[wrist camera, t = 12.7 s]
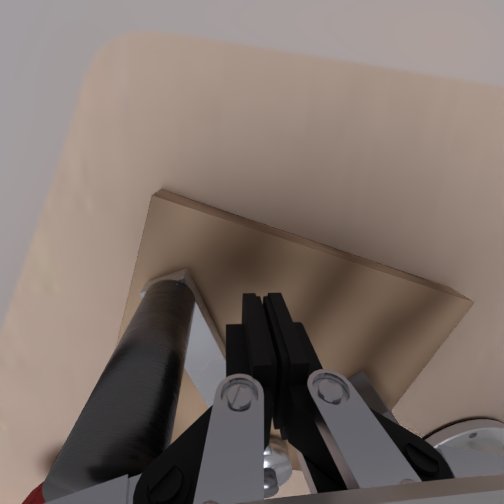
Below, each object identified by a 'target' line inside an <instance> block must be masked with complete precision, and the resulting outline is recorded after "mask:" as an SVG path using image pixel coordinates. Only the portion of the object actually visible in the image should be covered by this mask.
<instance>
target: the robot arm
mask: <svg viewBox="0 0 504 504" xmlns="http://www.w3.org/2000/svg"><path fill="white" fill-rule="evenodd" d="M272 420H273V425H274V429H275V430H278V429H280V434H281V439H282V440H288V443H290V444H291V445H292V446H293V447H295V448H296V453H297V457H298V461H299V463H300V466H301V469H302V471H303V474H304V476H305V479H306V482H307V484H308V487H309V490H310V492H311V494H308V495H300V496H291V497H282V498H274V499H265V500H264V451H265V449H266V448H267V446H268V445H269V441H270V432H271V423H272ZM44 504H504V424H503V423H501V422H499V421H495V420H489V419H476V420H468V421H464V422H461V423H457V424H454V425H451V426H449V427H446V428H444V429H442V430H440V431H438V432H436V433H434V434H433V435H431V436H430V437H428V438H427V439H425V440H423V439H422V438H420V437H418V436H417V435H415V434H413V433H412V432H410V431H408V430H407V429H405V428H403V427H401V426H400V425H398V424H396V423H395V422H393V421H391V420H390V419H388V418H386V417H385V416H383V415H381V414H379V413H378V412H376V411H374V410H373V409H371V408H369V407H368V406H367V405H366V403H365V402H364V401H363V399H362V398H361V396H360V395H359V394H358V392H357V391H356V390H355V388H354V387H353V385H352V384H351V383H350V382H349V381H348V380H347V378H345V377H344V376H343V375H341V374H340V373H337V372H335V371H333V370H328V369H323V367H322V365H321V363H320V361H319V359H318V356H317V354H316V352H315V350H314V348H313V346H312V343H311V341H310V339H309V337H308V335H307V332H306V330H305V328H304V326H303V324H302V323H301V322H293V321H292V318H291V316H290V313H289V311H288V308H287V306H286V303H285V301H284V298H283V296H282V294H281V293H268V295H267V296H264V297H263V304H262V301H261V297H260V296H256V293H243V296H242V323H241V324H226V378H225V379H223V380H222V381H221V382H220V384H219V385H218V387H217V389H216V392H215V397H214V402H213V405H212V406H211V407H210V408H208V409H207V410H206V411H205V412H204V413H203V414H202V415H201V416H200V417H199V418H198V419H197V420H196V421H195V422H194V423H193V424H192V425H191V426H190V427H189V428H187V429H186V430H185V431H184V432H183V433H182V434H181V435H180V436H179V437H178V438H177V439H176V440H175V441H174V442H173V443H172V444H171V445H170V446H169V447H168V448H167V449H165V450H164V451H163V452H162V453H161V454H160V455H159V456H158V457H157V458H156V459H155V460H154V461H153V462H152V463H151V464H150V465H149V466H148V467H147V468H146V470H145V471H144V472H143V473H142V474H139V475H137V476H134V477H131V478H129V477H128V474H127V475H124V476H121V477H118V478H116V479H113V480H110V481H107V482H104V483H101V484H98V485H95V486H93V487H90V488H87V489H84V490H81V491H78V492H75V493H72V494H69V495H67V496H64V497H61V498H58V499H55V500H52V501H49V502H46V503H44Z"/></svg>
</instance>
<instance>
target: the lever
mask: <svg viewBox="0 0 504 504" xmlns="http://www.w3.org/2000/svg"><path fill="white" fill-rule="evenodd" d="M140 295H141V296H142V300H141V302H140V304H139V306H138V308H137V310H136V312H135V313H134V315H133V317H132V319H131V321H130V323H129V325H128V326H127V328H126V330H125V332H124V334H123V336H122V338H121V339H120V341H119V343H118V345H117V347H116V349H115V351H114V352H113V354H112V356H111V358H110V360H109V362H108V364H107V366H106V367H105V369H104V371H103V373H102V375H101V377H100V379H99V380H98V382H97V384H96V386H95V388H94V390H93V392H92V393H91V395H90V397H89V399H88V401H87V403H86V405H85V407H84V408H83V410H82V412H81V414H80V416H79V418H78V420H77V421H76V423H75V425H74V427H73V429H72V431H71V433H70V434H69V436H68V438H67V440H66V442H65V444H64V446H63V447H62V449H61V451H60V453H59V455H58V457H57V459H56V461H55V462H54V464H53V466H52V468H51V470H50V472H49V474H48V475H47V477H46V479H45V481H44V483H43V486H42V494H43V498H44V500H45V501H46V502H49V501H52V500H55V499H58V498H61V497H64V496H67V495H69V494H72V493H75V492H78V491H81V490H84V489H87V488H90V487H93V486H95V485H98V484H101V483H104V482H107V481H110V480H113V479H116V478H118V477H121V476H124V475H127V474H128V477H129V478H131V477H134V476H137V475H139V474H142V473H143V472H144V471H145V470H146V468H147V467H148V466H149V465H150V464H151V463H152V462H153V461H154V460H155V459H156V458H157V457H158V456H159V455H160V454H161V453H162V452H163V451H164V450H165V449H167V448H168V447H169V446H170V445H171V439H172V433H173V428H174V422H175V416H176V411H177V405H178V399H179V394H180V388H181V382H182V377H183V371H184V368H185V370H186V371H187V373H188V375H189V376H190V378H191V380H192V381H193V383H194V385H195V386H196V388H197V390H198V391H199V393H200V395H201V396H202V398H203V400H204V401H205V403H206V405H207V406H208V408H210V407H211V406H212V405H213V402H214V397H215V392H216V389H217V387H218V385H219V384H220V382H221V381H222V380H223V379H225V378H226V347H225V345H224V343H223V341H222V339H221V337H220V335H219V333H218V331H217V329H216V327H215V325H214V323H213V321H212V319H211V317H210V315H209V312H208V310H207V308H206V306H205V304H204V302H203V300H202V298H201V296H200V294H199V292H198V290H197V288H196V286H195V284H194V282H193V280H192V278H191V276H190V273H189V271H188V269H187V268H185V269H182V270H180V271H177V272H174V273H171V274H168V275H165V276H162V277H159V278H156V279H154V280H151V281H148V282H146V283H145V285H144V287H143V289H142V290H141V292H140ZM291 474H292V466H291V461H290V457H289V452H288V448H287V446H286V444H285V443H284V442H282V441H281V440H278V439H275V438H270V441H269V445H268V446H267V448H266V449H265V451H264V498H268V497H271V496H274V495H275V494H276V493H277V492H278V490H279V488H278V487H279V486H281V485H282V484H284V483H285V482H286V481H287V480H288V479H289V478H290V476H291Z"/></svg>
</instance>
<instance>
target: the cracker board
mask: <svg viewBox="0 0 504 504" xmlns="http://www.w3.org/2000/svg"><path fill="white" fill-rule="evenodd" d="M185 268H187V269H188V271H189V273H190V276H191V278H192V280H193V282H194V284H195V286H196V288H197V290H198V292H199V294H200V296H201V298H202V300H203V302H204V304H205V306H206V308H207V310H208V312H209V315H210V317H211V319H212V321H213V323H214V325H215V327H216V329H217V331H218V333H219V335H220V337H221V339H222V341H223V343H224V345H225V347H226V324H241V323H242V296H243V293H256V296H260V297H261V301H262V304H263V297H264V296H267V295H268V293H281V294H282V296H283V298H284V301H285V303H286V306H287V308H288V311H289V313H290V316H291V318H292V321H293V322H301V323H302V324H303V326H304V328H305V330H306V332H307V335H308V337H309V339H310V341H311V343H312V346H313V348H314V350H315V352H316V354H317V356H318V359H319V361H320V363H321V365H322V367H323V369H328V370H333V371H335V372H337V373H340V374H341V375H343V376H344V377H345V378H347V380H348V381H349V382H350V383H351V384H352V385H353V387H354V388H355V390H356V391H357V392H358V394H359V395H360V396H361V398H362V399H363V401H364V402H365V403H366V405H367V406H368V407H369V408H371V409H373V410H374V411H376V412H378V413H379V414H381V415H383V416H385V417H386V418H388V419H390V420H391V421H393V422H395V423H396V424H398V425H399V423H398V422H397V420H396V419H395V417H394V416H393V414H392V413H391V410H392V408H393V407H394V406H395V405H396V403H397V402H398V401H399V399H400V398H401V397H402V395H403V394H404V393H405V392H406V390H407V389H408V388H409V386H410V385H411V384H412V382H413V381H414V380H415V379H416V377H417V376H418V375H419V373H420V372H421V371H422V370H423V368H424V367H425V366H426V364H427V363H428V362H429V360H430V359H431V358H432V357H433V355H434V354H435V353H436V351H437V350H438V349H439V347H440V346H441V345H442V344H443V342H444V341H445V340H446V338H447V337H448V336H449V334H450V333H451V332H452V331H453V329H454V328H455V327H456V325H457V324H458V323H459V322H460V320H461V319H462V318H463V316H464V315H465V314H466V312H467V311H468V310H469V309H470V307H471V306H472V305H473V303H474V302H473V301H471V300H470V299H468V298H466V297H465V296H463V295H461V294H460V293H458V292H456V291H455V290H453V289H451V288H449V287H446V286H444V285H441V284H438V283H435V282H432V281H429V280H426V279H423V278H420V277H417V276H414V275H411V274H408V273H405V272H402V271H399V270H396V269H393V268H391V267H388V266H385V265H382V264H379V263H376V262H373V261H370V260H367V259H364V258H361V257H358V256H355V255H352V254H349V253H346V252H343V251H340V250H338V249H335V248H332V247H329V246H326V245H323V244H320V243H317V242H314V241H311V240H308V239H305V238H302V237H299V236H296V235H293V234H290V233H287V232H285V231H282V230H279V229H276V228H273V227H270V226H267V225H264V224H261V223H258V222H255V221H252V220H249V219H246V218H243V217H240V216H237V215H234V214H232V213H229V212H226V211H223V210H220V209H217V208H214V207H211V206H208V205H205V204H202V203H199V202H196V201H193V200H190V199H187V198H184V197H181V196H178V195H176V194H173V193H170V192H167V191H164V190H159V191H158V192H156V193H155V194H153V195H152V197H151V201H150V205H149V210H148V214H147V218H146V222H145V227H144V231H143V235H142V239H141V244H140V248H139V252H138V256H137V261H136V265H135V269H134V274H133V278H132V282H131V286H130V291H129V295H128V299H127V303H126V308H125V312H124V316H123V320H122V325H121V329H120V333H119V338H118V342H117V345H118V343H119V341H120V339H121V338H122V336H123V334H124V332H125V330H126V328H127V326H128V325H129V323H130V321H131V319H132V317H133V315H134V313H135V312H136V310H137V308H138V306H139V304H140V302H141V300H142V296H141V295H140V292H141V290H142V289H143V287H144V285H145V283H146V282H148V281H151V280H154V279H156V278H159V277H162V276H165V275H168V274H171V273H174V272H177V271H180V270H182V269H185ZM116 347H117V346H116ZM207 409H208V406H207V405H206V403H205V401H204V400H203V398H202V396H201V395H200V393H199V391H198V390H197V388H196V386H195V385H194V383H193V381H192V380H191V378H190V376H189V375H188V373H187V371H186V370H185V368H184V371H183V377H182V382H181V388H180V394H179V399H178V405H177V411H176V416H175V422H174V428H173V433H172V439H171V444H172V443H173V442H174V441H175V440H176V439H177V438H178V437H179V436H180V435H181V434H182V433H183V432H184V431H185V430H186V429H187V428H189V427H190V426H191V425H192V424H193V423H194V422H195V421H196V420H197V419H198V418H199V417H200V416H201V415H202V414H203V413H204V412H205V411H206V410H207ZM270 438H275V439H278V440H281V441H282V442H284V443H285V444H286V446H287V448H288V452H289V457H290V461H291V466H292V470H301V471H302V469H301V466H300V463H299V461H298V457H297V453H296V448H295V447H293V446H292V445H291V444H290V443H288V440H282V439H281V434H280V429H278V430H275V429H274V425H273V420H272V423H271V432H270Z"/></svg>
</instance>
